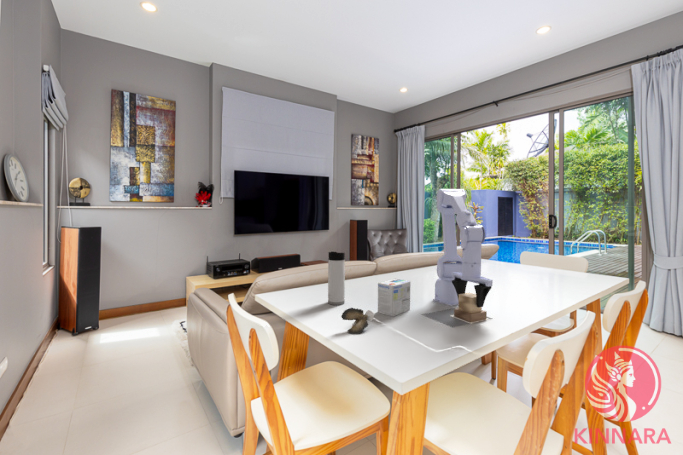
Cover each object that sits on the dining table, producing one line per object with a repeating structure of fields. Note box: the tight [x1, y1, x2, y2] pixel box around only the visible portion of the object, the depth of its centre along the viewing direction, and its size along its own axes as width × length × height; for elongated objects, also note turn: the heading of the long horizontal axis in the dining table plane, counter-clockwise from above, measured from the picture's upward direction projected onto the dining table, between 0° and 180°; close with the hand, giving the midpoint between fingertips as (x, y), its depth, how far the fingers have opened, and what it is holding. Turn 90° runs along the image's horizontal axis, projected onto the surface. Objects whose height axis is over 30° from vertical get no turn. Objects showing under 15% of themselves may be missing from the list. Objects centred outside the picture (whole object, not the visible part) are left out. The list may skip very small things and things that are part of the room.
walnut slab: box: [454, 307, 488, 323], centre depth 106 cm, size 7×7×2 cm
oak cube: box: [457, 292, 483, 313], centre depth 106 cm, size 5×5×5 cm
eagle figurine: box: [340, 307, 375, 335], centre depth 96 cm, size 8×7×9 cm
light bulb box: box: [377, 278, 411, 317], centre depth 113 cm, size 11×7×11 cm, turn 134°
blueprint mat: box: [420, 307, 493, 328], centre depth 107 cm, size 14×18×1 cm
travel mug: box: [327, 251, 346, 306], centre depth 123 cm, size 6×7×20 cm
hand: (470, 303), depth 106 cm, fingers open, 7 cm apart
